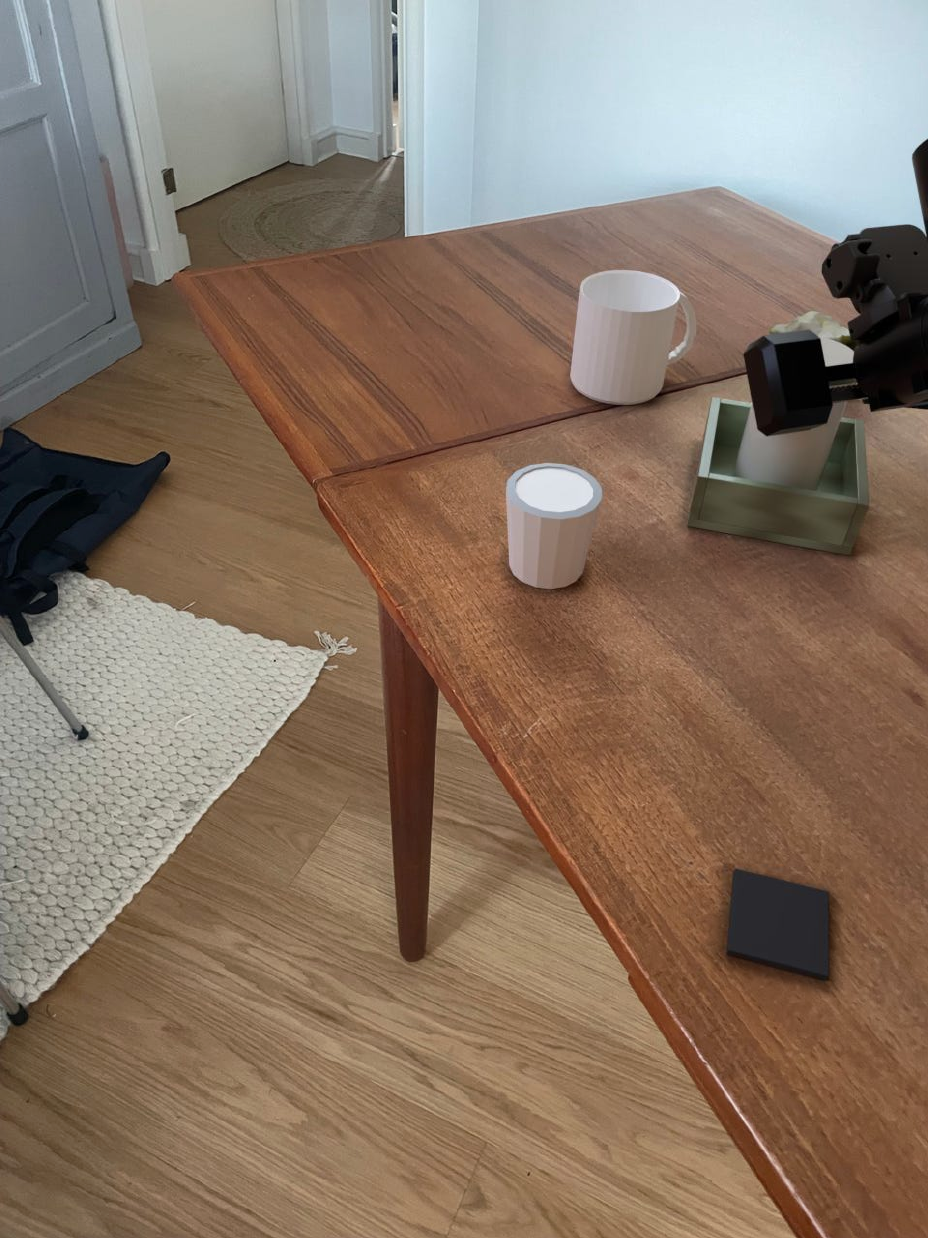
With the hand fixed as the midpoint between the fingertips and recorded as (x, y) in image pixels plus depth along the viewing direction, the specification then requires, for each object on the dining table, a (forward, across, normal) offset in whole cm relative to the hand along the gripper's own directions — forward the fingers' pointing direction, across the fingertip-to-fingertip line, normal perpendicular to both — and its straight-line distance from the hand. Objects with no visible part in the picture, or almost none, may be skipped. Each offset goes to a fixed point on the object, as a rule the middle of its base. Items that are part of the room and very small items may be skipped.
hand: (810, 404), depth 70 cm
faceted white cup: (+5, +21, +8) cm, 23 cm away
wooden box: (+8, 0, +6) cm, 10 cm away
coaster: (-17, +20, +30) cm, 40 cm away
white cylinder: (+7, 0, +5) cm, 9 cm away
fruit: (+20, -14, -6) cm, 25 cm away
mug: (+22, +4, -9) cm, 24 cm away
